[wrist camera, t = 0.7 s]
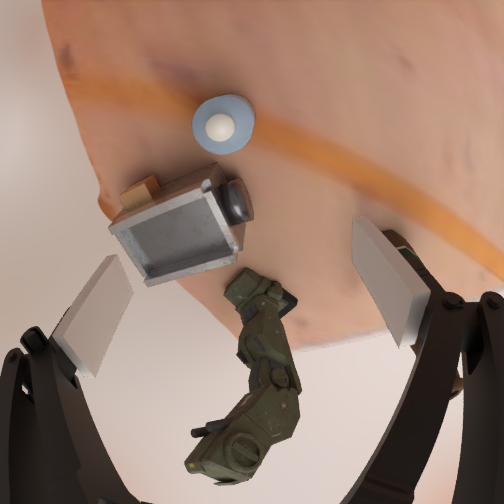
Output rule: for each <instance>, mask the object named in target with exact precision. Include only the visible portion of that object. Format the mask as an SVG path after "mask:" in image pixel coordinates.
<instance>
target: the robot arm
mask: <svg viewBox="0 0 504 504" xmlns="http://www.w3.org/2000/svg"><path fill="white" fill-rule="evenodd" d="M352 263H353V264H354V266H355V268H356V270H357V271H358V273H359V275H360V276H361V278H362V280H363V282H364V284H365V285H366V287H367V289H368V291H369V292H370V294H371V296H372V298H373V300H374V302H375V303H376V305H377V307H378V309H379V311H380V313H381V315H382V316H383V318H384V320H385V322H386V324H387V326H388V328H389V330H390V332H391V334H392V336H393V338H394V340H395V342H396V344H397V346H398V348H403V347H406V346H409V345H413V344H415V342H416V339H417V336H418V334H419V336H420V338H421V339H422V343H421V346H420V348H419V351H418V353H417V356H416V360H415V363H414V366H413V369H412V371H411V374H410V377H409V379H408V382H407V384H406V387H405V390H404V392H403V394H402V396H401V399H400V401H399V404H398V406H397V408H396V410H395V412H394V415H393V416H392V419H391V421H390V423H389V425H388V427H387V429H386V431H385V433H384V435H383V437H382V438H381V440H380V442H379V444H378V446H377V448H376V450H375V451H374V453H373V455H372V456H371V458H370V460H369V461H368V463H367V465H366V467H365V468H364V470H363V471H362V473H361V475H360V476H359V478H358V479H357V481H356V482H355V484H354V485H353V487H352V488H351V489H350V491H349V492H348V494H347V495H346V496H345V497H344V499H343V500H342V501H341V503H340V504H412V503H413V500H414V490H415V487H416V485H417V483H418V481H419V479H420V477H421V474H422V472H423V470H424V468H425V466H426V464H427V461H428V459H429V457H430V454H431V452H432V450H433V447H434V444H435V442H436V439H437V437H438V434H439V431H440V428H441V425H442V422H443V419H444V416H445V413H446V410H447V406H448V403H449V400H450V396H451V392H452V388H453V384H454V380H455V376H456V371H457V367H458V362H459V357H460V352H461V353H462V365H463V389H464V408H463V409H464V411H463V432H462V444H461V454H460V462H459V468H458V474H457V480H456V485H455V490H454V495H453V499H452V504H504V298H503V297H502V296H501V295H500V294H498V293H496V292H491V291H489V292H485V293H483V294H482V296H481V299H480V301H479V302H465V301H464V299H463V298H462V297H461V296H459V295H458V294H456V293H453V292H446V291H445V290H444V289H443V288H442V287H441V285H440V284H439V283H438V282H437V281H436V279H435V278H434V277H433V276H432V275H431V274H430V272H429V271H428V270H427V269H425V267H424V265H423V264H422V263H421V262H420V261H419V260H417V259H415V258H414V257H412V256H408V257H403V256H402V255H401V254H400V253H399V251H398V250H397V249H396V248H395V247H394V246H393V245H392V243H391V242H390V241H389V240H388V239H387V238H386V237H385V236H384V235H383V233H382V232H381V231H380V230H379V229H378V228H377V227H376V226H375V225H374V224H373V223H372V222H371V221H370V220H369V218H368V217H367V216H358V217H353V234H352ZM133 293H134V291H133V289H132V287H131V285H130V283H129V280H128V278H127V276H126V274H125V271H124V269H123V267H122V264H121V262H120V260H119V257H118V255H117V254H116V255H111V256H107V257H106V258H105V259H104V261H103V262H102V263H101V265H100V266H99V267H98V269H97V270H96V271H95V273H94V274H93V275H92V277H91V278H90V280H89V281H88V282H87V284H86V285H85V286H84V288H83V289H82V291H81V292H80V293H79V295H78V296H77V298H76V299H75V301H74V302H73V304H72V305H71V306H70V307H69V308H68V309H67V311H66V312H65V314H64V315H63V318H61V320H60V321H59V323H58V324H57V326H56V328H55V329H54V331H53V332H52V334H51V336H50V337H49V339H47V338H46V336H45V335H44V333H43V332H42V331H41V329H40V328H39V327H38V326H34V327H31V328H29V329H28V330H27V331H26V332H25V333H24V334H23V336H22V337H21V339H20V343H21V344H22V345H23V346H24V348H25V349H26V350H27V352H28V353H29V354H25V355H24V353H23V352H22V351H21V350H20V348H14V349H12V350H10V351H9V352H8V354H7V355H6V357H5V360H4V364H3V368H2V372H1V376H0V504H152V503H147V502H142V501H141V503H140V502H139V501H138V500H137V499H136V498H135V497H134V496H133V495H132V494H131V493H130V492H129V491H128V490H127V488H126V487H125V485H124V483H123V482H122V480H121V478H120V476H119V474H118V473H117V471H116V469H115V467H114V465H113V463H112V461H111V459H110V457H109V455H108V453H107V451H106V449H105V447H104V445H103V442H102V440H101V438H100V436H99V433H98V431H97V429H96V426H95V424H94V421H93V419H92V416H91V414H90V411H89V408H88V406H87V403H86V400H85V398H84V394H83V391H82V389H81V385H80V382H79V379H78V377H77V376H76V375H75V372H76V370H77V369H78V370H79V372H80V373H81V374H82V375H83V376H84V377H92V378H95V377H96V375H97V372H98V370H99V367H100V365H101V363H102V360H103V358H104V356H105V353H106V351H107V348H108V346H109V344H110V342H111V340H112V337H113V335H114V333H115V331H116V329H117V327H118V324H119V322H120V320H121V318H122V316H123V314H124V312H125V310H126V308H127V306H128V303H129V301H130V299H131V297H132V295H133ZM22 385H23V386H24V387H25V388H26V389H27V390H28V394H25V392H24V391H23V390H22Z"/></svg>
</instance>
